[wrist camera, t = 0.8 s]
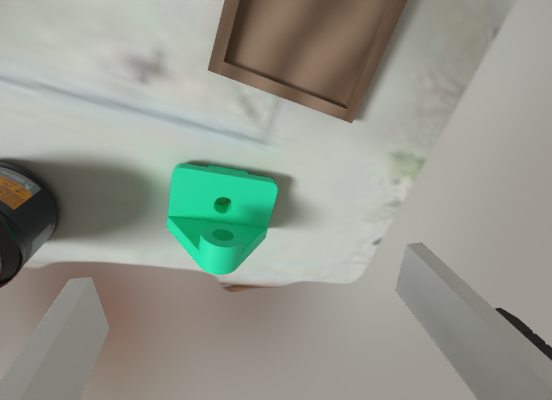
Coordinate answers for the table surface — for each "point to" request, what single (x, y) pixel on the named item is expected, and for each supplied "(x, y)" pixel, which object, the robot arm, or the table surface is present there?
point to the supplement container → (23, 218)
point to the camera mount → (219, 214)
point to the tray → (306, 48)
